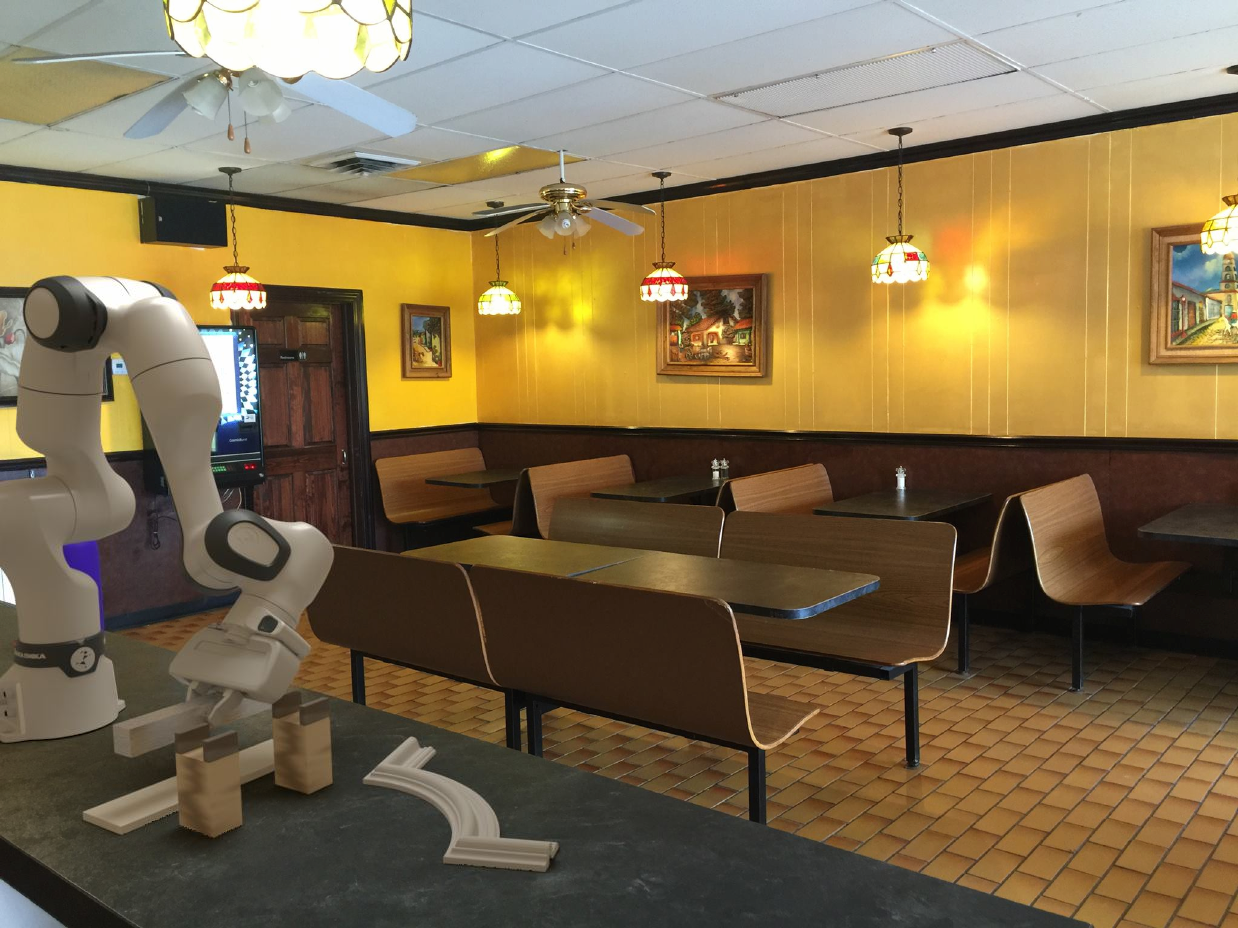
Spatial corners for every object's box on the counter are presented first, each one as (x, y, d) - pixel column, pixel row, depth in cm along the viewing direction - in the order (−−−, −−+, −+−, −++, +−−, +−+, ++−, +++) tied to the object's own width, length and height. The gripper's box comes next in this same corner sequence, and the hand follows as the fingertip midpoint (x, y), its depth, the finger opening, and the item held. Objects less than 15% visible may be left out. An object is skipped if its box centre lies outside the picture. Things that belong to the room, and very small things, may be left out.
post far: (275, 783, 131) (271, 699, 130) (299, 773, 135) (295, 690, 134) (308, 794, 128) (304, 706, 127) (332, 782, 131) (328, 698, 130)
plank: (83, 819, 121) (82, 811, 121) (272, 745, 145) (271, 738, 145) (121, 834, 117) (121, 826, 117) (309, 755, 141) (309, 748, 141)
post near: (179, 825, 119) (174, 732, 118) (208, 812, 123) (203, 722, 122) (213, 837, 116) (208, 742, 115) (242, 824, 119) (237, 731, 118)
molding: (576, 867, 109) (576, 841, 109) (475, 899, 102) (475, 872, 102) (425, 749, 144) (424, 729, 144) (342, 767, 138) (342, 747, 137)
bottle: (72, 664, 188) (61, 507, 186) (49, 658, 193) (38, 505, 190) (114, 654, 195) (105, 502, 193) (91, 648, 200) (81, 500, 197)
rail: (114, 752, 122) (112, 724, 122) (263, 701, 140) (262, 676, 140) (131, 757, 120) (129, 729, 120) (280, 704, 139) (278, 680, 138)
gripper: (194, 609, 141) (133, 696, 133) (291, 625, 130) (231, 721, 122) (223, 632, 145) (166, 718, 137) (320, 650, 134) (263, 744, 126)
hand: (197, 720), depth 130 cm, fingers closed on rail, 3 cm apart
